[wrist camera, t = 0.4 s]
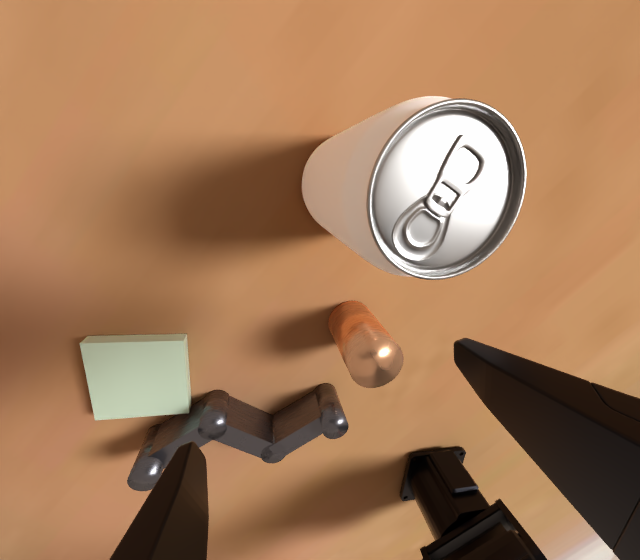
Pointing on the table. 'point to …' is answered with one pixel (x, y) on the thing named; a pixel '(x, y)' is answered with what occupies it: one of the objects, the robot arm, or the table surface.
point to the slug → (365, 345)
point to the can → (420, 186)
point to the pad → (137, 375)
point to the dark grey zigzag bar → (239, 430)
